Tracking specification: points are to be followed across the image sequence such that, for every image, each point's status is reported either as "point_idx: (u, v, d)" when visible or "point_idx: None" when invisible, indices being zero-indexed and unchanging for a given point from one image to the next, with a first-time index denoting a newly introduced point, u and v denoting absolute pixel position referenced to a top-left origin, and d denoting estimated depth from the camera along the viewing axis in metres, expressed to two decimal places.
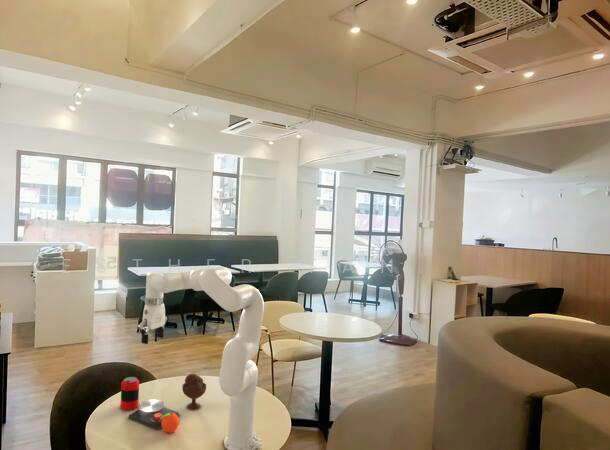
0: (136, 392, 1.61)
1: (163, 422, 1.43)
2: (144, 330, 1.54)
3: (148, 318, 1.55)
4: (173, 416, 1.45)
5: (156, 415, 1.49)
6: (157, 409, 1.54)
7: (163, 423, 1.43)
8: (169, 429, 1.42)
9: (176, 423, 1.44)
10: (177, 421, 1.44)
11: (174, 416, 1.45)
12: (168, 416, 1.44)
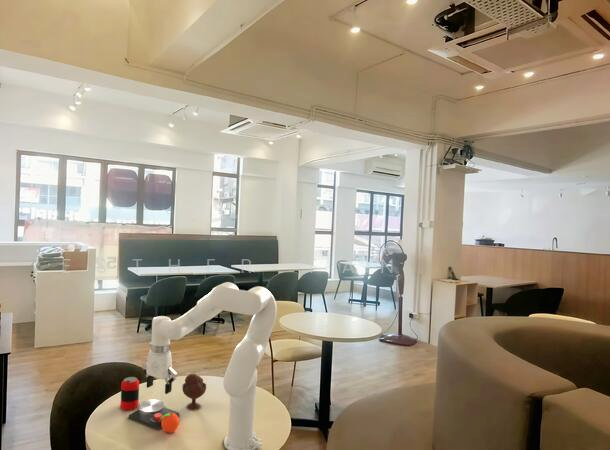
0: (136, 392, 1.61)
1: (163, 422, 1.43)
2: None
3: None
4: (173, 416, 1.45)
5: (156, 415, 1.49)
6: (157, 409, 1.54)
7: (163, 423, 1.43)
8: (169, 429, 1.42)
9: (176, 423, 1.44)
10: (177, 421, 1.44)
11: (174, 416, 1.45)
12: (168, 416, 1.44)
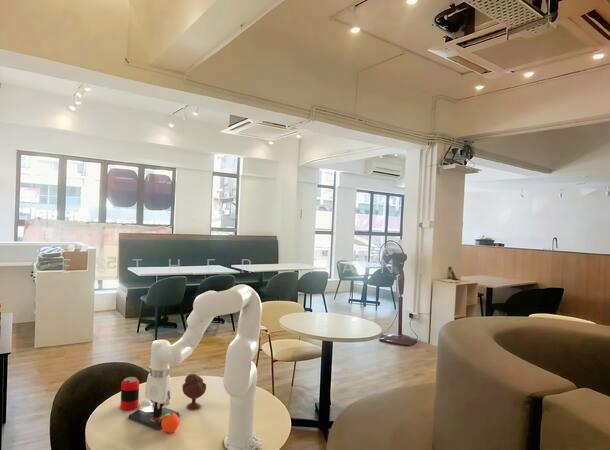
0: (136, 392, 1.61)
1: (163, 422, 1.43)
2: (153, 401, 1.49)
3: None
4: (173, 416, 1.45)
5: None
6: None
7: (163, 423, 1.43)
8: (169, 429, 1.42)
9: (176, 423, 1.44)
10: (177, 421, 1.44)
11: (174, 416, 1.45)
12: (168, 416, 1.44)
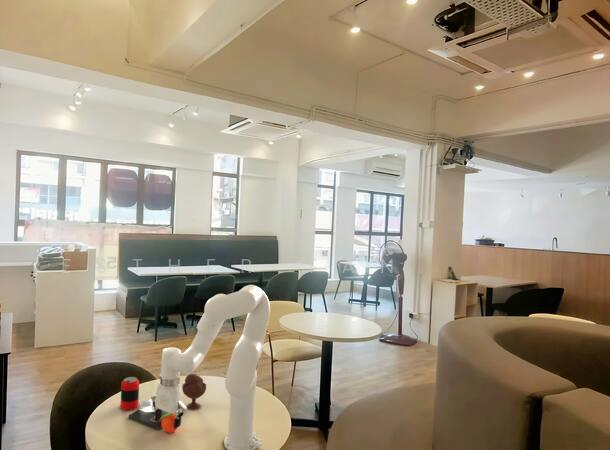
0: (136, 392, 1.61)
1: (163, 422, 1.43)
2: (155, 404, 1.48)
3: None
4: (173, 416, 1.45)
5: None
6: None
7: (163, 423, 1.43)
8: (169, 429, 1.42)
9: None
10: None
11: (174, 416, 1.45)
12: (168, 416, 1.44)
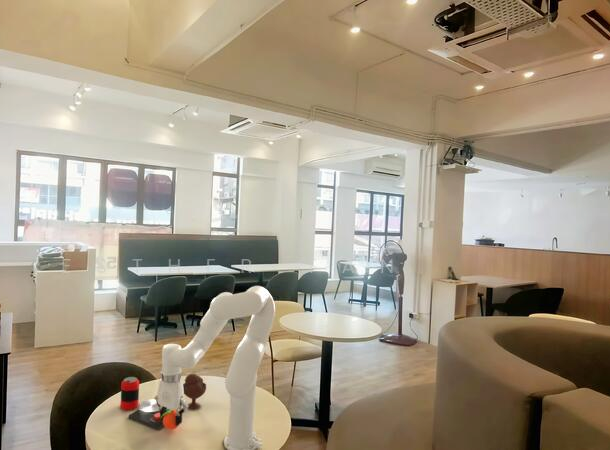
0: (136, 392, 1.61)
1: (164, 419, 1.43)
2: None
3: None
4: (174, 413, 1.45)
5: (156, 415, 1.49)
6: (157, 409, 1.54)
7: (164, 420, 1.43)
8: (171, 426, 1.42)
9: None
10: None
11: (175, 413, 1.45)
12: (169, 413, 1.44)
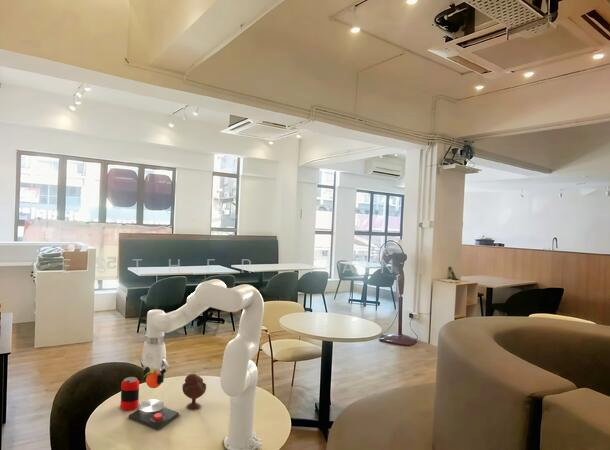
0: (136, 392, 1.61)
1: (147, 378, 1.55)
2: (143, 365, 1.58)
3: None
4: (157, 373, 1.56)
5: (156, 415, 1.49)
6: (157, 409, 1.54)
7: (147, 379, 1.55)
8: (153, 384, 1.54)
9: None
10: None
11: (157, 373, 1.56)
12: (152, 373, 1.56)
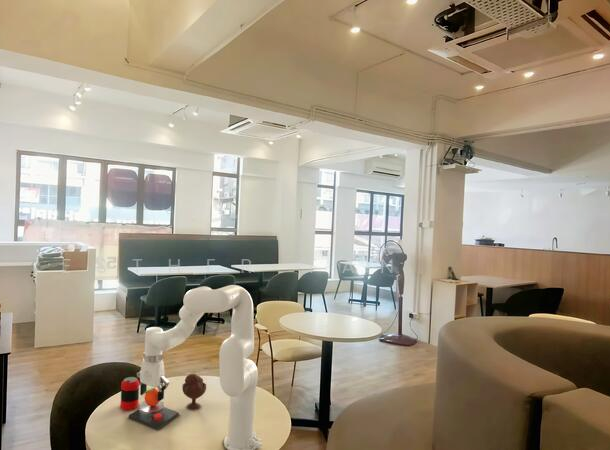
0: (136, 392, 1.61)
1: (146, 396, 1.55)
2: (140, 380, 1.60)
3: None
4: (155, 391, 1.57)
5: (156, 415, 1.49)
6: (157, 409, 1.54)
7: (146, 397, 1.55)
8: (151, 402, 1.55)
9: None
10: None
11: (156, 391, 1.57)
12: (151, 391, 1.56)
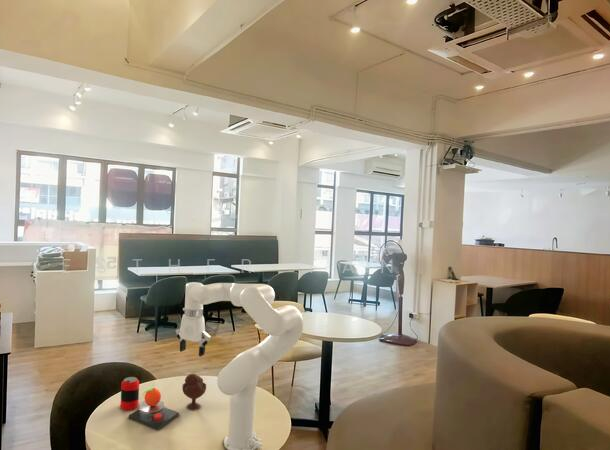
0: (136, 392, 1.61)
1: (146, 396, 1.55)
2: (179, 336, 1.56)
3: None
4: (155, 391, 1.57)
5: (156, 415, 1.49)
6: (157, 409, 1.54)
7: (146, 397, 1.55)
8: (151, 402, 1.55)
9: (158, 397, 1.56)
10: (159, 395, 1.57)
11: (156, 391, 1.57)
12: (151, 391, 1.56)
